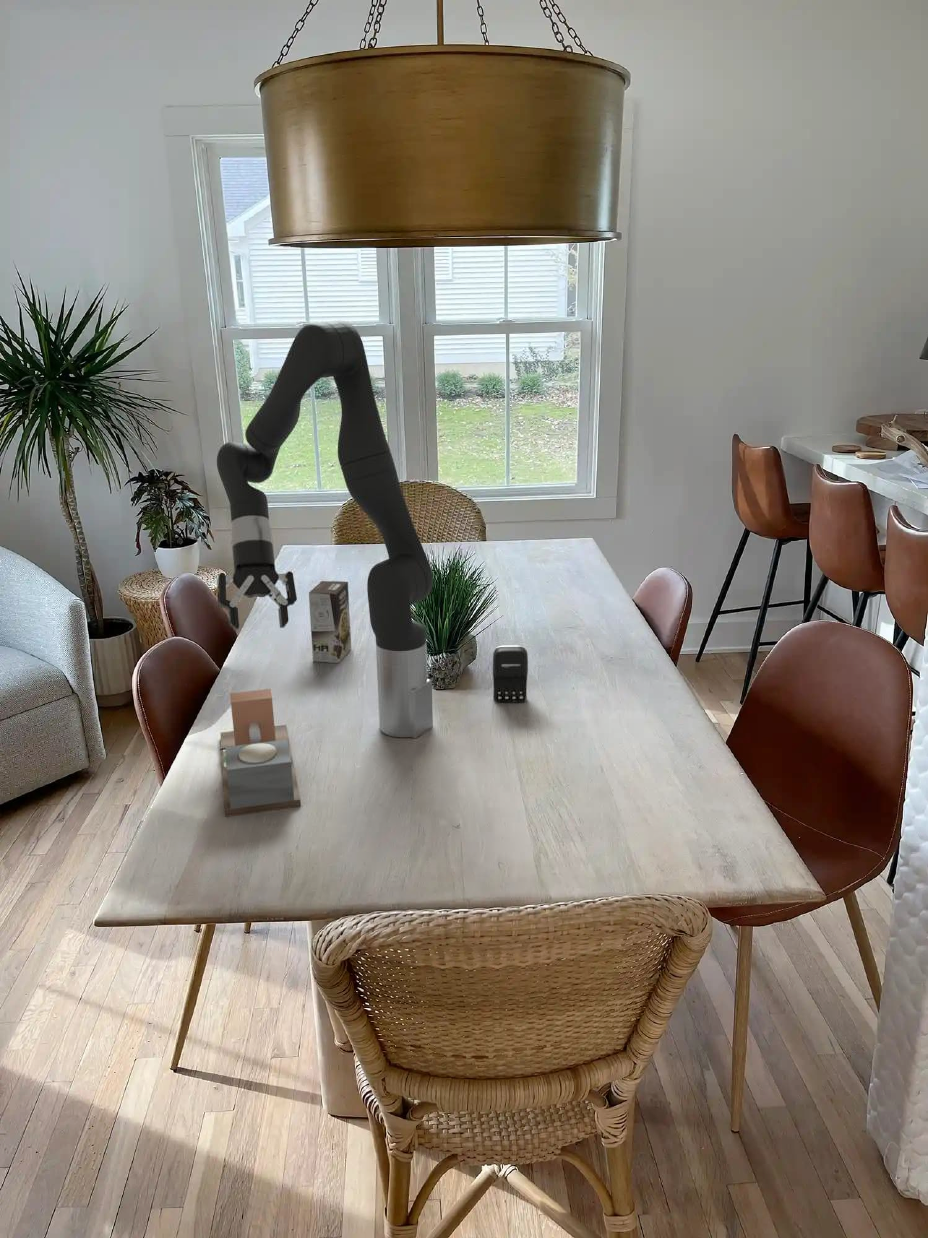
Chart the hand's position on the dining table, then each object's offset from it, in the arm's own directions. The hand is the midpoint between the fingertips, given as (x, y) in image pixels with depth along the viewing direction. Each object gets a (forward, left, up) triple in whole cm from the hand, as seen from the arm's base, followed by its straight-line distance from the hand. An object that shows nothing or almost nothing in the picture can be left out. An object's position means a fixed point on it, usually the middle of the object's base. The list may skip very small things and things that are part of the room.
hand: (260, 627), depth 180 cm
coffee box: (+10, -33, -19) cm, 40 cm away
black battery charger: (-36, -31, -19) cm, 51 cm away
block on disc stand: (-8, +14, -18) cm, 24 cm away
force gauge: (-11, +15, -19) cm, 27 cm away
